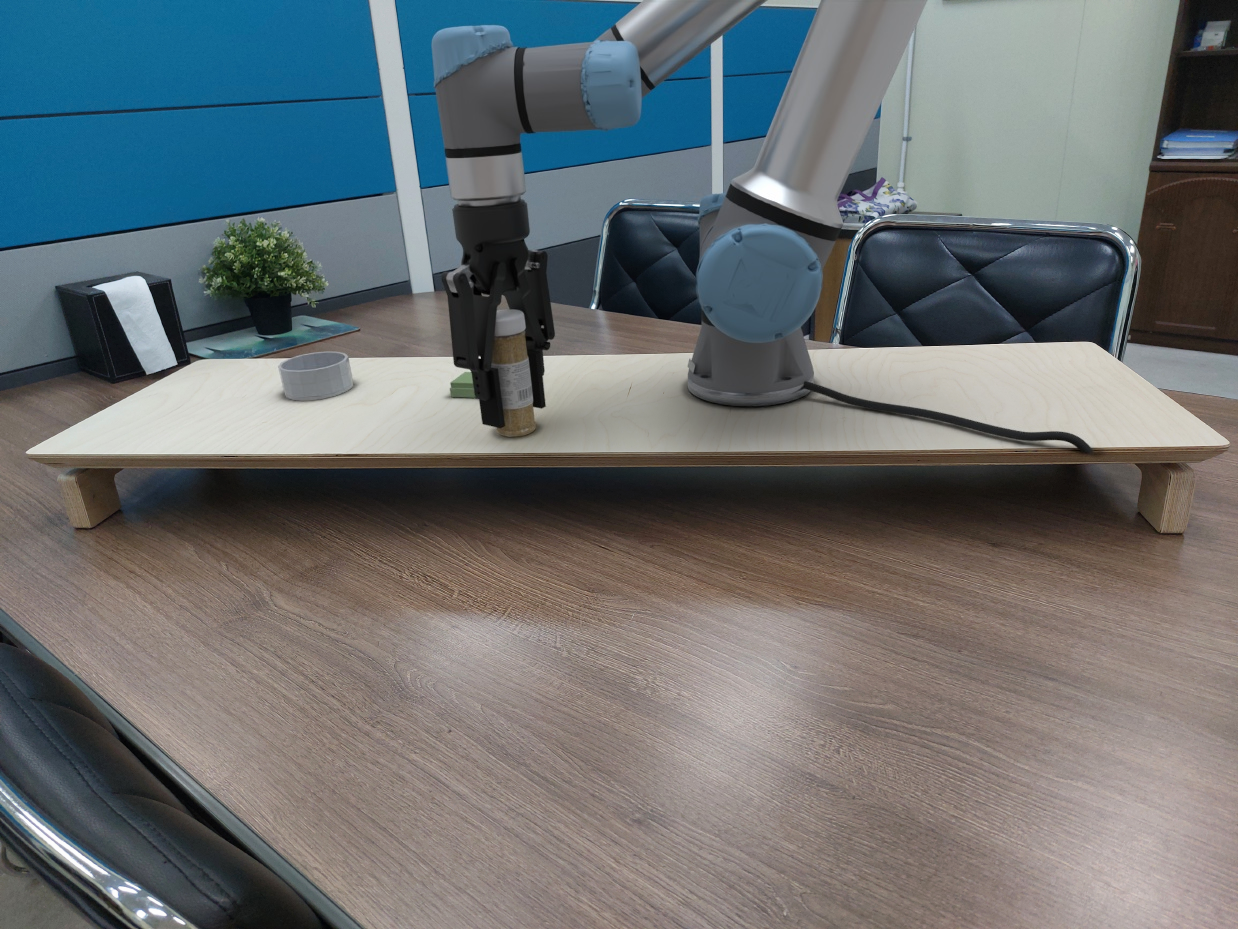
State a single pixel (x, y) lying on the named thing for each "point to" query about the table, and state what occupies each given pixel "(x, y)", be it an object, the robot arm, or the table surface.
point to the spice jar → (513, 373)
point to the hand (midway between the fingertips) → (514, 414)
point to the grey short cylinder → (316, 375)
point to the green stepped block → (463, 386)
